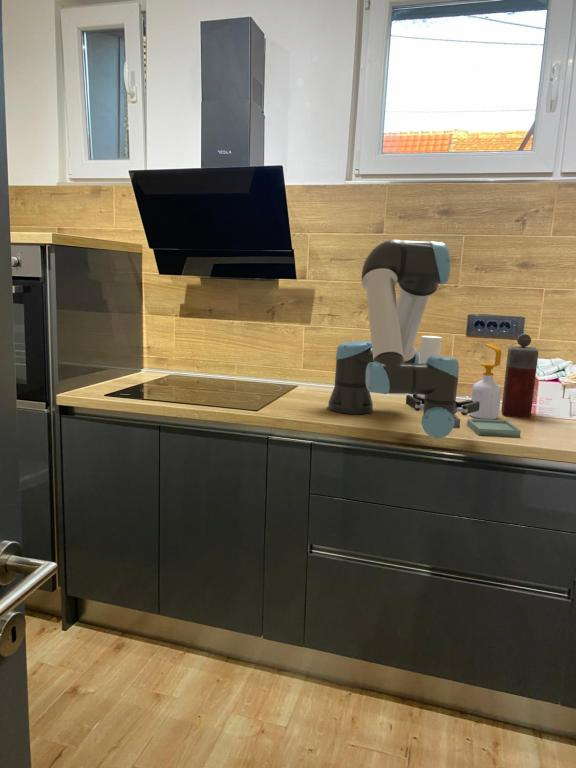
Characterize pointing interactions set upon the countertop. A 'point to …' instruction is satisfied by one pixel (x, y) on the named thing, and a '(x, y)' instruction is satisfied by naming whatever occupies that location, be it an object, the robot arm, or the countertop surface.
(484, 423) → the tray
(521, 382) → the dark red bottle
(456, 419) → the socket collar
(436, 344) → the cylindrical container
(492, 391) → the soap bottle
